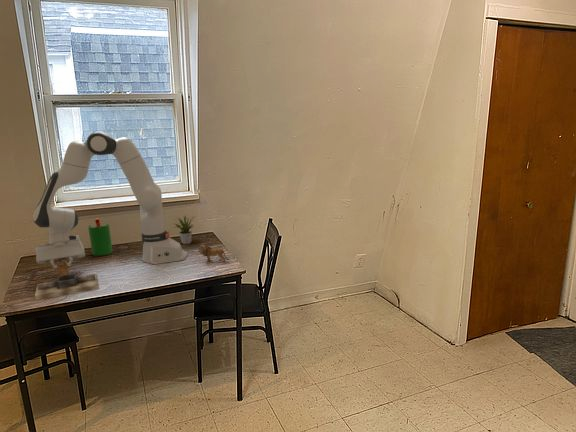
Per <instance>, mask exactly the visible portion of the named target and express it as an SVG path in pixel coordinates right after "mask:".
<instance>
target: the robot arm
mask: <svg viewBox="0 0 576 432" xmlns="http://www.w3.org/2000/svg"><path fill="white" fill-rule="evenodd" d="M107 155H112V156H113V157H114V159H115V160H116V162H117V163H118V165H119V167H120V169H121V171H122V172H123V174H124V176H125V178H126V179H127V181H128V184H129V186H130V188H131V191H132V193H133V195H134V197H135V200H136V201H137V204H138V205H139V213H140V214H139V215H140V216H139V217H140V219H139V220H140V226H141V227H140V228H141V244H142V246H143V247H142V256H141V261H142V262H143V263H147V264H151V265H161V264H167V263H172V262H173V263H174V262H179V261H184V260H185V259H186V258H187V257H188V253H187V251H186V250H184V249H183V248H182V245H181V244H180V242H178V241H176V240H175V239H173V238H171V237H170V232H169V230H165V220H164V212H163V211H164V210H163V199H162V198H163V196H162V189H161V187H160V186H159V185H158V184H157V183H155V181H154V179H153V176H152V175H151V173H150V169H149V168H148V165H147V163H146V162H145V160H144V158H143V157H142V154H141V152H140V151H139V149H138V148H137V147H136V145H135V143H133V141H132V140H131V138H129V137H127V136H126V137H125V136H123V137H122V136H121V137H117V138H113V137H112V136H111V135H110V134H108V133H107V132H105V131H102V130H101V131H100V130H98V131H94V132H91V133H90V134H89V135H88V136H87V138H86V141H81V140H75V141H71V142H70V143H69V144H68V146H67V148H66V150H65V154H64V157H63V161H62V164H61V166H60V168H59V169H58V170H57V171H55V172H53V173H52V174H51V176H50V177H49V179H48V181H47V184H46V186H45V188H44V190H43V193H42V195H41V198H40V200H39V202H38V204H37V206H36V207H35V210H34V213H33V216H32V220H33V222H34V224H35V225H36V226H38V228H47V231H48V234H49V235H48V243H45V244H39V245H38V246H36V247H35V248H34V252H35V254H36V256H35V258H36V259H35V260H36V263H38V264H39V265H44V264H49V263H50V265H51V266H52V267H53V270H54V271H56V270H57V264H56V263H55V262H56V261H57V260H61V259H66V260H69V262H67V268H68V269H69V268H71V267H72V263H73V261H74V259H80V258H84V257H85V256H86V252H85V251H86V250H85V248H84V245H83V243H82V241H81V239H80V237H79V235H74V234H70V233H69V232H71V231H72V230H73V229H75V228H76V227H77V226H78V224H79V214H78V212H77V211H76V210H75V209H74V208H68V207H56V206H52V203H53V201H54V198H55V196H56V193H57V191H58V190H59V189H62V188H63V187H67V186H72V185H76V184H79V183H81V182H84V180H85V179H86V178H87V176H88V173H89V170H90V163H91V160H92V158H93V157H94V156H107ZM57 271H58V270H57Z"/></svg>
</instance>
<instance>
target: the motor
mask: <svg viewBox="0 0 576 432" xmlns="http://www.w3.org/2000/svg"><path fill="white" fill-rule="evenodd" d="M87 227H88V233H89V241H90V246H91V254H92V256H94V257H98V256H99V257H100V256H107V255H110V254H112V253H113V244H112V237H111V231H110V224H109V223H106V224H105V225H101V221H100V218H99V217H98V218H97V217H96V218H95V226H94V227H93V226H92V225H91V224H89V225H88V226H87Z"/></svg>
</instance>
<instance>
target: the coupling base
mask: <svg viewBox="0 0 576 432" xmlns="http://www.w3.org/2000/svg"><path fill="white" fill-rule="evenodd" d="M55 278H56V279H53V281H47V282H42V283H37V286H36V289H35V294H34V300H35V301H41V300H46V299H49V298H51V299H52V298H55V297H61V296H65V295H66V296H67V295H71V294H72V295H73V294H77V293H82V292H88V291H93V290H97V289H98V290H99V289H100V286H99V278H98V273H92V274H87V275H86V274H85V275H81V276H80V275H79V274H78V273H75V272H74V273H69V274H68V275H62V276H59V275H57V276H56V277H55Z"/></svg>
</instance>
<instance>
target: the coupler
mask: <svg viewBox="0 0 576 432" xmlns="http://www.w3.org/2000/svg"><path fill="white" fill-rule="evenodd" d="M67 263H68V262H67V260H66V259H61V260H57V261H56V263H55V265H57V276H62V275H68V274H70V272H69V268H67Z"/></svg>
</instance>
